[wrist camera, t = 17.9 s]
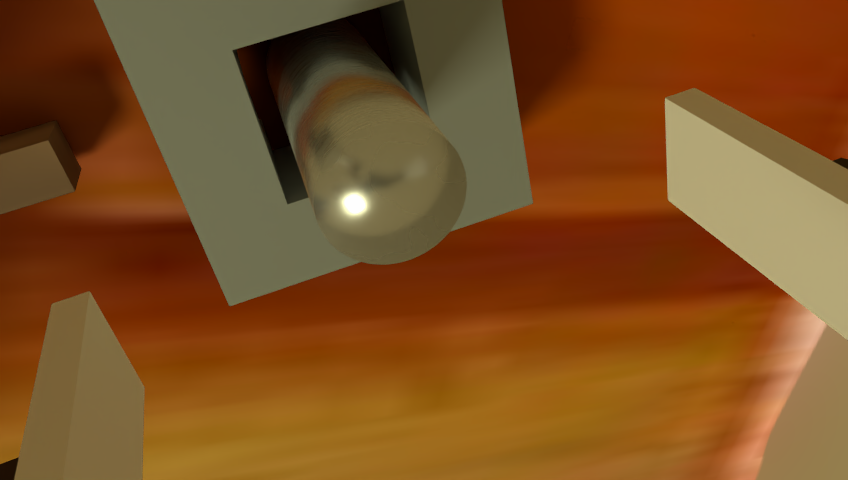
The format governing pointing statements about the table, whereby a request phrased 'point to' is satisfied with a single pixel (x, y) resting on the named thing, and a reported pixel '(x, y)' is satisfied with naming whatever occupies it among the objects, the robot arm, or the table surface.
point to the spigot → (364, 146)
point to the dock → (278, 170)
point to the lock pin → (35, 166)
